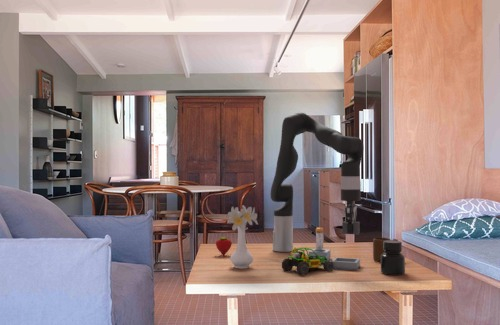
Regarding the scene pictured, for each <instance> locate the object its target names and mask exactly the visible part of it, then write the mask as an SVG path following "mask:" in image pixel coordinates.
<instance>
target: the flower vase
mask: <svg viewBox="0 0 500 325" xmlns="http://www.w3.org/2000/svg"><path fill="white" fill-rule="evenodd" d="M241 206H242V208H241V209H240V211H239V207H234V206H231V209H230V211H228V212H227V215H226V218H228V219H227V220H226V222H227V224H233V225H232V227H231V228H232V231H236V230H237V243H236V244H237V245H236V248H235V250H234V252H232V254H231V256H230V262H231V264H232V265H233V267H234V269H241V270H242V269H243V270H244V269H248V268H249V267H250V265H251V264H252V263H253V261H254V257H253V255H252V253H251V252H250V251H249V250H248V247H247V242H246V226H247V224H249V225H250V226H253V222H254V223H255V225H259V223H258V220H257V218H258V214H257V212H255V209H256V208H255V207H252V206H248V207H246V206H245V205H244V204H243V205H241Z"/></svg>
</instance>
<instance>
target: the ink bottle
mask: <svg viewBox="0 0 500 325" xmlns="http://www.w3.org/2000/svg"><path fill="white" fill-rule="evenodd" d="M383 249H384V251H385V252H384V253H383V254H382V255H381V262H380V272H381V274H385V275H388V276H401V275H402V276H404V275H405V273H406V257H405V255H404V254H403V253H402V251H403V242H402V241H401V240H398V241H393V239H391V240H387V241H383Z"/></svg>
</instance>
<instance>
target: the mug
mask: <svg viewBox="0 0 500 325" xmlns="http://www.w3.org/2000/svg"><path fill="white" fill-rule="evenodd" d="M372 240H373V241H372V257H373V261H374V262H379V263H381V255H382V254H383V253H384V252H385V251H384V249H383V241H387V240H393V241H399V240H398V239H396V238H392V239H391V238H388V237H374V238H372Z"/></svg>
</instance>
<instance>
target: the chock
mask: <svg viewBox="0 0 500 325" xmlns="http://www.w3.org/2000/svg"><path fill="white" fill-rule="evenodd" d="M353 222H354V223H353V233H352V234H351V235H357V236H358V235H360V233H361V232H360V231H361V227H360V226H361V225H360V223H361V221H353ZM341 225H342V226H341V228H342V235H349V234H348V233H347V223H346V220H344V221H342V224H341Z"/></svg>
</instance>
